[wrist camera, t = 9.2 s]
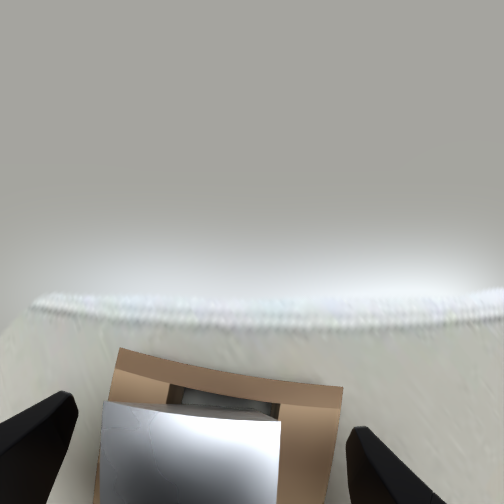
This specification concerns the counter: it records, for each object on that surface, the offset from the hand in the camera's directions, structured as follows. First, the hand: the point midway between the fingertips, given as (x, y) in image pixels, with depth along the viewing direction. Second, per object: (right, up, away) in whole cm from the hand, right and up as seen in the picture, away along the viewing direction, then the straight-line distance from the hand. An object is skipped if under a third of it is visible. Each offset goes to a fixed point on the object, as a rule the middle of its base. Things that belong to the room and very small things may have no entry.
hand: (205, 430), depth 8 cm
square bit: (0, -5, +7) cm, 9 cm away
